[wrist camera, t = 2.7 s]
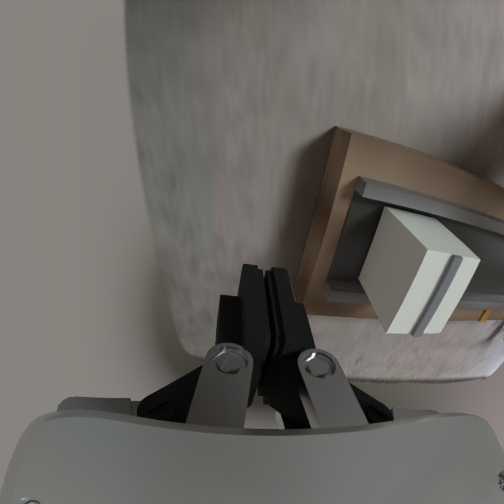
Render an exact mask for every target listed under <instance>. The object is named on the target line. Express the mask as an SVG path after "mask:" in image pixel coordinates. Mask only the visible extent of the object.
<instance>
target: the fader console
mask: <svg viewBox="0 0 504 504" xmlns="http://www.w3.org/2000/svg"><path fill="white" fill-rule="evenodd" d="M385 206H386V207H391V208H395V209H399V210H403V211H408V212H412V213H416V214H420V215H424V216H428V217H432V218H435V219H436V220H438V221H439V222H440V223H441V224H442V225H443V226H445V227H446V228H447V229H448V230H449V231H450V232H451V233H453V234H454V235H455V236H456V237H457V238H458V239H459V240H460V241H461V242H462V243H464V244H465V245H466V246H467V247H468V248H469V249H470V250H471V251H472V252H473V253H474V254H475V255H476V256H477V257H478V258H479V259H480V262H479V264H478V266H477V268H476V270H475V272H474V274H473V276H472V278H471V280H470V282H469V284H468V286H467V288H466V290H465V291H464V293H463V295H462V297H461V299H460V300H459V302H458V304H457V306H456V307H455V309H454V311H453V312H452V314H451V316H450V317H449V319H448V320H479V322H485V321H486V320H504V188H503V187H501V186H499V185H497V184H495V183H493V182H491V181H489V180H487V179H485V178H483V177H481V176H478V175H476V174H474V173H472V172H469V171H467V170H465V169H463V168H460V167H458V166H455V165H453V164H451V163H448V162H446V161H443V160H441V159H438V158H435V157H433V156H430V155H427V154H425V153H422V152H419V151H416V150H414V149H411V148H408V147H405V146H402V145H399V144H396V143H393V142H390V141H387V140H383V139H380V138H377V137H373V136H370V135H367V134H363V133H360V132H356V131H352V130H349V129H345V128H341V127H337V126H335V130H334V134H333V139H332V143H331V147H330V151H329V156H328V160H327V164H326V168H325V172H324V176H323V180H322V184H321V188H320V192H319V196H318V200H317V204H316V208H315V212H314V215H313V219H312V223H311V227H310V230H309V234H308V238H307V241H306V245H305V248H304V252H303V256H302V259H301V263H300V266H299V270H298V273H297V277H296V280H295V283H294V287H293V288H294V292H295V296H296V301H297V303H303V304H304V307H305V310H306V314H311V315H324V316H339V317H356V318H376V319H379V318H378V316H377V314H376V312H375V310H374V308H373V306H372V304H371V302H370V300H369V298H368V296H367V294H366V292H365V290H364V288H363V286H362V285H361V283H360V281H359V279H358V278H359V275H360V273H361V270H362V268H363V265H364V263H365V260H366V257H367V255H368V252H369V249H370V247H371V244H372V241H373V238H374V236H375V233H376V230H377V227H378V224H379V221H380V219H381V216H382V213H383V210H384V207H385Z"/></svg>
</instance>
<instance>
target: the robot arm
mask: <svg viewBox="0 0 504 504" xmlns="http://www.w3.org/2000/svg"><path fill="white" fill-rule="evenodd" d="M257 388H258V389H257ZM256 389H257V390H258V396H263V403H264V404H269V405H270V406H271V407H272V408H274V409H275V410H276V412H275V415H276V420H277V424H278V427H279V429H246V428H244V423H245V416H246V410H247V407H249V406H250V405H251V404H252V401H253V398H254V395H255V392H256ZM40 503H41V504H504V448H503V446H502V444H501V442H500V440H499V438H498V437H497V435H496V433H495V431H494V430H493V428H492V427H491V425H490V424H489V423H488V422H487V421H486V420H484V419H483V418H481V417H479V416H476V415H472V414H466V413H438V412H437V411H433V410H420V409H406V408H396V407H392V409H391V410H389V409H388V408H387V407H386V406H385V405H384V404H382V403H381V402H379V401H377V400H376V399H374V398H373V397H371V396H370V395H368V394H366V393H365V392H363V391H362V390H360V389H359V388H357V387H355V386H354V385H352V384H351V383H349V382H348V380H347V378H346V376H345V374H344V372H343V370H342V368H341V366H340V364H339V362H338V361H337V359H336V358H335V357H334V356H333V355H332V354H330V353H328V352H326V351H324V350H320V349H316V347H315V343H314V340H313V336H312V332H311V329H310V325H309V321H308V318H307V314H306V310H305V307H304V304H303V303H297V302H294V298H293V294H292V289H291V285H290V281H289V277H288V273H287V270H286V269H283V268H275V267H272V268H271V271H269V270H266V272H265V277H263V270H260V269H258V266H257V265H250V264H243V267H242V273H241V278H240V284H239V290H238V296H228V295H220V302H219V309H218V318H217V328H216V342H215V346H213V347H212V348H210V349H209V350H208V352H207V354H206V357H205V360H204V363H203V365H202V366H200V367H198V368H197V369H195V370H193V371H191V372H190V373H188V374H186V375H185V376H183V377H181V378H179V379H177V380H176V381H174V382H172V383H170V384H169V385H167V386H165V387H163V388H161V389H160V390H158V391H156V392H154V393H152V394H150V395H149V396H147V397H146V398H144V399H143V400H142V401H131V399H130V398H94V397H93V398H92V397H69V398H67V399H65V400H63V401H62V402H61V403H60V404H59V405H58V409H57V411H56V412H52V413H47V414H44V415H42V416H39V417H37V418H36V419H34V420H33V421H32V422H31V423H30V424H29V425H28V426H27V428H26V429H25V430H24V432H23V434H22V435H21V437H20V439H19V441H18V443H17V445H16V447H15V450H14V452H13V455H12V457H11V460H10V462H9V465H8V468H7V472H6V475H5V478H4V482H3V486H2V489H1V493H0V504H40Z"/></svg>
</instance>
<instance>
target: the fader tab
mask: <svg viewBox="0 0 504 504" xmlns="http://www.w3.org/2000/svg"><path fill="white" fill-rule="evenodd" d="M479 262H480V259H479V258H478V257H477V256H476V255H475V254H474V253H473V252H472V251H471V250H470V249H469V248H468V247H467V246H466V245H465V244H464V243H462V242H461V241H460V240H459V239H458V238H457V237H456V236H455V235H454V234H453V233H451V232H450V231H449V230H448V229H447V228H446V227H445V226H443V225H442V224H441V223H440V222H439V221H438V220H436V219H435V218H432V217H428V216H424V215H420V214H416V213H412V212H408V211H403V210H399V209H395V208H391V207H386V206H385V207H384V210H383V213H382V216H381V219H380V221H379V224H378V227H377V230H376V233H375V236H374V238H373V241H372V244H371V247H370V249H369V252H368V255H367V257H366V260H365V263H364V265H363V268H362V270H361V273H360V275H359V278H358V279H359V281H360V283H361V285H362V286H363V288H364V290H365V292H366V294H367V296H368V298H369V300H370V302H371V304H372V306H373V308H374V310H375V312H376V314H377V316H378V318H379V320H380V322H381V324H382V326H383V328H384V330H385V332H386V333H411V335H412V336H413V337H420V336H421V335H422V334H423V333H440V332H441V330H442V329H443V327H444V326H445V324H446V322H447V321H448V319H449V317H450V316H451V314H452V312H453V311H454V309H455V307H456V306H457V304H458V302H459V300H460V299H461V297H462V295H463V293H464V291H465V290H466V288H467V286H468V284H469V282H470V280H471V278H472V276H473V274H474V272H475V270H476V268H477V266H478V264H479Z"/></svg>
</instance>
